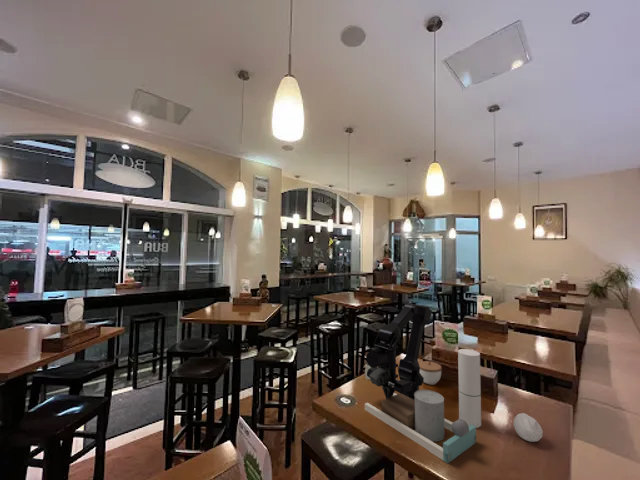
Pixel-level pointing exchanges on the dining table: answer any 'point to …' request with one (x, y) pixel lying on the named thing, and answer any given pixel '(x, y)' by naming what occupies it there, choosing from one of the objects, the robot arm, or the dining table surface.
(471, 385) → the cylindrical container
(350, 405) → the dining table surface
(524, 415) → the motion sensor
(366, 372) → the valve
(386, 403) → the carriage
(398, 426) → the bay
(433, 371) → the lidded jar
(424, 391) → the grey concrete cylinder
